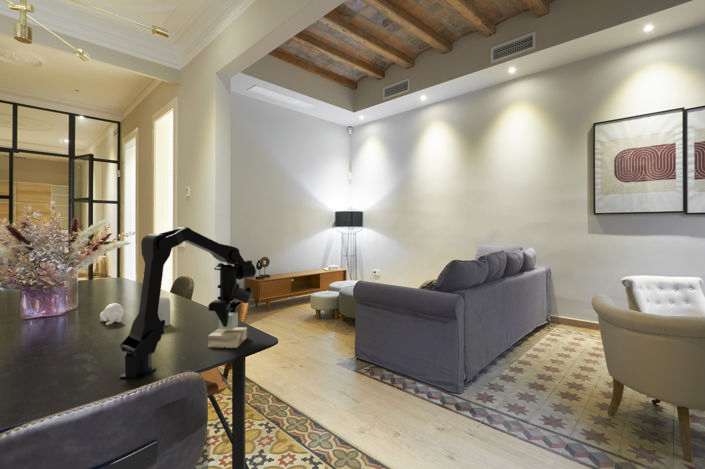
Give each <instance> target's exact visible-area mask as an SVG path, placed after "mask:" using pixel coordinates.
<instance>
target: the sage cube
mask: <svg viewBox="0 0 705 469" xmlns="http://www.w3.org/2000/svg"><path fill="white" fill-rule="evenodd" d="M238 313H239V312H238V311H236V312H229V316H228V323H227V327H223V325H222V323H221V321H220V319H219V317H218V316H217V317H218V319H217V320H218V323H217V324H218V326H217V329H221V330H233V329H234V328H235V327H239V326H238V325H239V323H238V322H239V320H238V319H239V318H238V317H239V314H238Z"/></svg>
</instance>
